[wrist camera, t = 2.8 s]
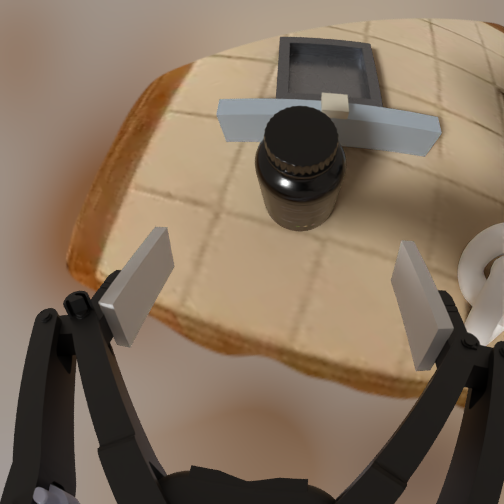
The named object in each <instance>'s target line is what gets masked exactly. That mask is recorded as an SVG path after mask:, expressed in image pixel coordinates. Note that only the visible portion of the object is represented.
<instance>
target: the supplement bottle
mask: <svg viewBox="0 0 504 504" xmlns="http://www.w3.org/2000/svg"><path fill="white" fill-rule="evenodd" d="M264 131H265V133H264V138H263V140H262V141H261V143H260V144H259V146H258V149H257V152H256V156H255V169H256V174H257V178H258V181H259V185H260V189H261V192H262V196H263V200H264V203H265V206H266V209H267V211H268V213H269V215H270V216H271V218H272V219H273V220H274V221H275V222H276V223H277V224H279V225H280V226H282V227H284V228H286V229H289V230H293V231H307V230H311V229H314V228H316V227H318V226H320V225H321V224H322V223H324V222H325V221H326V220H327V218H328V217H329V216H330V214H331V212H332V210H333V207H334V205H335V202H336V199H337V196H338V194H339V191H340V188H341V185H342V182H343V179H344V176H345V172H346V157H345V153H344V150H343V148H342V146H341V144H340V143H339V140H338V138H339V135H338V133H337V128H336V127H335V124H334V122H332V121H331V118H330V117H328V116H327V115H326V114H325V113H323V112H321V111H320V110H317V109H315V108H313V107H308V106H300V105H299V106H292V107H287V108H285V109H283V110H280V111H279V112H278V113H276V114H274V116H273V117H271V118H270V121H269V122H268V123H267V127H266V128H265V130H264Z"/></svg>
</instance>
